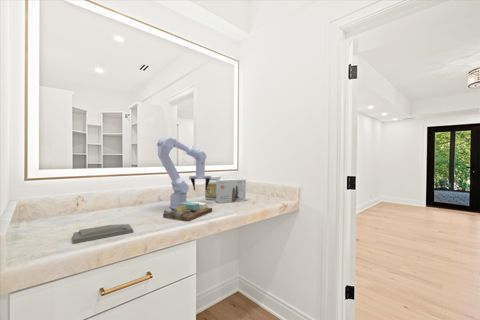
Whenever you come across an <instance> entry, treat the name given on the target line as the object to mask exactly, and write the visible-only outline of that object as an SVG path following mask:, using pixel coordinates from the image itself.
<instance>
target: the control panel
mask: <svg viewBox="0 0 480 320" xmlns="http://www.w3.org/2000/svg"><path fill="white" fill-rule="evenodd" d="M170 209H171V210H163V214H162V218H164V219H169V220H175V221H176V220H177V221H184V222H191V221H192V220H196V219H199V218H200V217H203V216H205V215H208V214H210V213H212V212H213V207H207V208H205V209H195V210H190V209H187V213H185V214H183V213H180V212H177V209H176V208H170Z"/></svg>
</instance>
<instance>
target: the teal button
mask: <svg viewBox="0 0 480 320" xmlns="http://www.w3.org/2000/svg"><path fill="white" fill-rule="evenodd" d="M191 202H192V201H191ZM191 202H189V201H188V202H187V201H186V202H182V203H179V206H180V205H187V209H190V210H195V209H198V208H199V203H191Z"/></svg>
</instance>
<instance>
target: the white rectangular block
mask: <svg viewBox="0 0 480 320" xmlns="http://www.w3.org/2000/svg"><path fill="white" fill-rule="evenodd" d="M191 203H199V208H198V209H205V208H208V202H200V201H191Z"/></svg>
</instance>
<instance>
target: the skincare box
mask: <svg viewBox="0 0 480 320" xmlns="http://www.w3.org/2000/svg"><path fill="white" fill-rule="evenodd" d="M246 185H247V180H246V179H245V178H229V179H227V178H225V179H224V178H223V179H220V180H217V186H216V200H215V202H216V203H217V204H226V203H237V202H245V201H246V191H247V190H246V189H247V188H246V187H247V186H246Z"/></svg>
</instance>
